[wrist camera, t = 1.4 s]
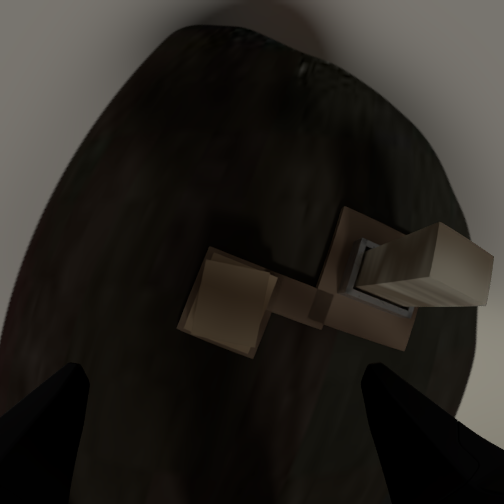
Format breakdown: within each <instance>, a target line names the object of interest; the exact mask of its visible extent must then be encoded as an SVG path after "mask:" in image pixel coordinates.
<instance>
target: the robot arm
mask: <svg viewBox="0 0 504 504" xmlns="http://www.w3.org/2000/svg"><path fill="white" fill-rule="evenodd" d="M89 387H90V384H89V380H88V378H87V376H86V374H85V372H84V370H83V368H82V366H81V365H80V364H77V363H68V364H66V365H65V366H64V367H62V368H61V369H60V370H59V371H57V372H56V373H55V374H54V375H52V376H51V377H50V378H48V379H47V380H46V381H45V382H43V383H42V384H41V385H40V386H38V387H37V388H36V389H35V390H33V391H32V392H31V393H30V394H28V395H27V396H26V397H25V398H23V399H22V400H21V401H20V402H18V403H17V404H16V405H15V406H14V407H12V408H11V409H10V410H9V411H7V412H6V413H5V414H4V415H2V416H1V417H0V504H68V500H69V493H70V487H71V481H72V476H73V471H74V465H75V461H76V456H77V451H78V447H79V442H80V438H81V434H82V430H83V425H84V419H85V412H86V405H87V399H88V393H89ZM361 388H362V393H363V398H364V403H365V407H366V413H367V418H368V423H369V427H370V430H371V434H372V437H373V440H374V443H375V446H376V450H377V453H378V456H379V459H380V463H381V466H382V470H383V473H384V476H385V480H386V484H387V487H388V491H389V494H390V498H391V502H392V504H504V450H503V449H501V448H499V447H498V446H496V445H494V444H492V443H491V442H489V441H487V440H486V439H484V438H482V437H481V436H479V435H477V434H476V433H475V432H473V431H472V430H470V429H469V428H468V427H466V426H465V425H463V424H462V423H461V422H459V421H457V420H456V419H455V418H454V417H453V416H451V415H450V414H449V413H447V412H446V411H445V410H443V409H442V408H441V407H439V406H438V405H437V404H435V403H434V402H433V401H431V400H430V399H429V398H427V397H426V396H425V395H424V394H422V393H421V392H420V391H418V390H417V389H416V388H414V387H413V386H412V385H410V384H409V383H408V382H406V381H405V380H404V379H402V378H401V377H400V376H399V375H397V374H396V373H395V372H393V371H392V370H391V369H389V368H388V367H387V366H385V365H384V364H383V363H381V362H376V363H370V364H369V365H368V366H367V368H366V370H365V373H364V375H363V378H362V381H361Z"/></svg>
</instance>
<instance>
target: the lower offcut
mask: <svg viewBox="0 0 504 504" xmlns="http://www.w3.org/2000/svg"><path fill="white" fill-rule="evenodd" d="M211 260H212V261H216V262H221V263H226V264H231V265H235V266H240V267H245V268H250V269H255V268H252V267H250V266H247V265H245V264H242V263H240V262H237V261H235V260H232V259H229V258H227V257H224V256H222V255H219V254H217V253H214V254H213V256H212V258H211ZM255 270H257V269H255ZM277 279H278V277H275V276H273V275H269V281H268V286H267V291H266V296H265V301H264V306H263V311H262V316H261V320H262V317H263V315H264V312H265V310H266V307H267V305H268V302H269V299H270V297H271V294H272V292H273V289H274V286H275V284H276V281H277ZM200 286H201V285H200ZM199 291H200V288H199V290H198V293H197V295H196V298H195V300H194V303H193V306H192V308H191V311H190V313H189V316H188V318H187V321H186V324H185V326H184V329H186V330H189V331H191V330H192V325H193V320H194V315H195V310H196V305H197V300H198V295H199ZM260 323H261V321H260ZM208 339H209V338H208ZM210 340H213V341H215V342H218V343H220V344H223V345H226V346H228V347H231V348H233V349H236V350H239V351H241V352H244V353H247V354H248V352H249V350H250V348H251V347H248V346H243V345H238V344H233V343H228V342H223V341H218V340H214V339H210Z"/></svg>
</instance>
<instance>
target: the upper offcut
mask: <svg viewBox="0 0 504 504" xmlns="http://www.w3.org/2000/svg"><path fill="white" fill-rule="evenodd" d="M269 275H270V272H265V271H260V270H255V269H250V268H245V267H240V266H235V265H231V264H226V263H221V262H216V261H212V260H207V259H206V263H205V267H204V272H203V276H202V281H201V286H200V291H199V295H198V300H197V305H196V310H195V315H194V320H193V325H192V330H191V335H196V336H200V337H204V338H209V339H214V340H218V341H223V342H228V343H233V344H238V345H243V346H248V347H254V348H255V345H256V340H257V335H258V331H259V326H260V321H261V316H262V311H263V306H264V301H265V296H266V291H267V286H268V281H269Z"/></svg>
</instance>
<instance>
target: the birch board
mask: <svg viewBox="0 0 504 504" xmlns="http://www.w3.org/2000/svg"><path fill="white" fill-rule="evenodd" d="M493 260H494V256H492V255H491V254H489V253H488V252H486V251H485V250H483V249H482V248H481V247H479V246H478V245H476V244H475V243H473V242H472V241H470V240H468V239H467V238H465V237H464V236H462V235H461V234H459V233H457V232H456V231H454V230H453V229H451V228H449V227H448V226H446V225H444V224H443V223H441V222H438V223H435V224H433V225H430V226H428V227H426V228H423V229H421V230H418V231H416V232H413V233H411V234H408V235H406V236H404V237H401V238H399V239H396V240H394V241H391V242H388V243H386V244H383V245H381V246H378V247H376V248H373V249H371V250H368V251H365V252H364V254H363V257H362V261H361V264H360V267H359V271H358V274H357V277H356V280H355V283H354V287H353V289H354V290H357V291H359V292H362V293H364V294H367V295H369V296H372V297H374V298H377V299H379V300H382V301H384V302H387V303H389V304H392V305H394V306H402V307H452V306H486V304H487V299H488V293H489V288H490V282H491V275H492V268H493Z"/></svg>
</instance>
